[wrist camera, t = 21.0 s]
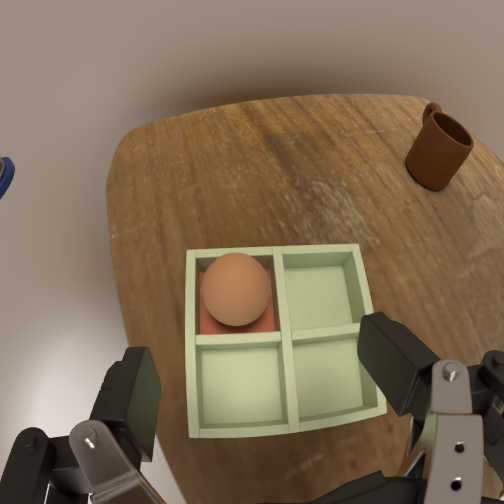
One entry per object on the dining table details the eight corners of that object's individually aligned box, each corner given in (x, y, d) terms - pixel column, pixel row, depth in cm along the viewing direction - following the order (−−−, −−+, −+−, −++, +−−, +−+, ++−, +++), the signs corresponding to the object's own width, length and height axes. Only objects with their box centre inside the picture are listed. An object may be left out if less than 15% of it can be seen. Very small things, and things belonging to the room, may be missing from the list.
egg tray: (195, 431, 20) (189, 437, 17) (192, 266, 27) (186, 249, 24) (369, 411, 21) (387, 413, 18) (346, 259, 28) (358, 243, 25)
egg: (212, 338, 23) (199, 315, 16) (203, 283, 25) (189, 239, 18) (271, 327, 24) (285, 299, 17) (258, 273, 26) (266, 227, 19)
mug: (393, 132, 39) (413, 88, 31) (429, 144, 39) (451, 104, 31) (410, 185, 34) (441, 137, 25) (450, 197, 33) (482, 155, 25)
